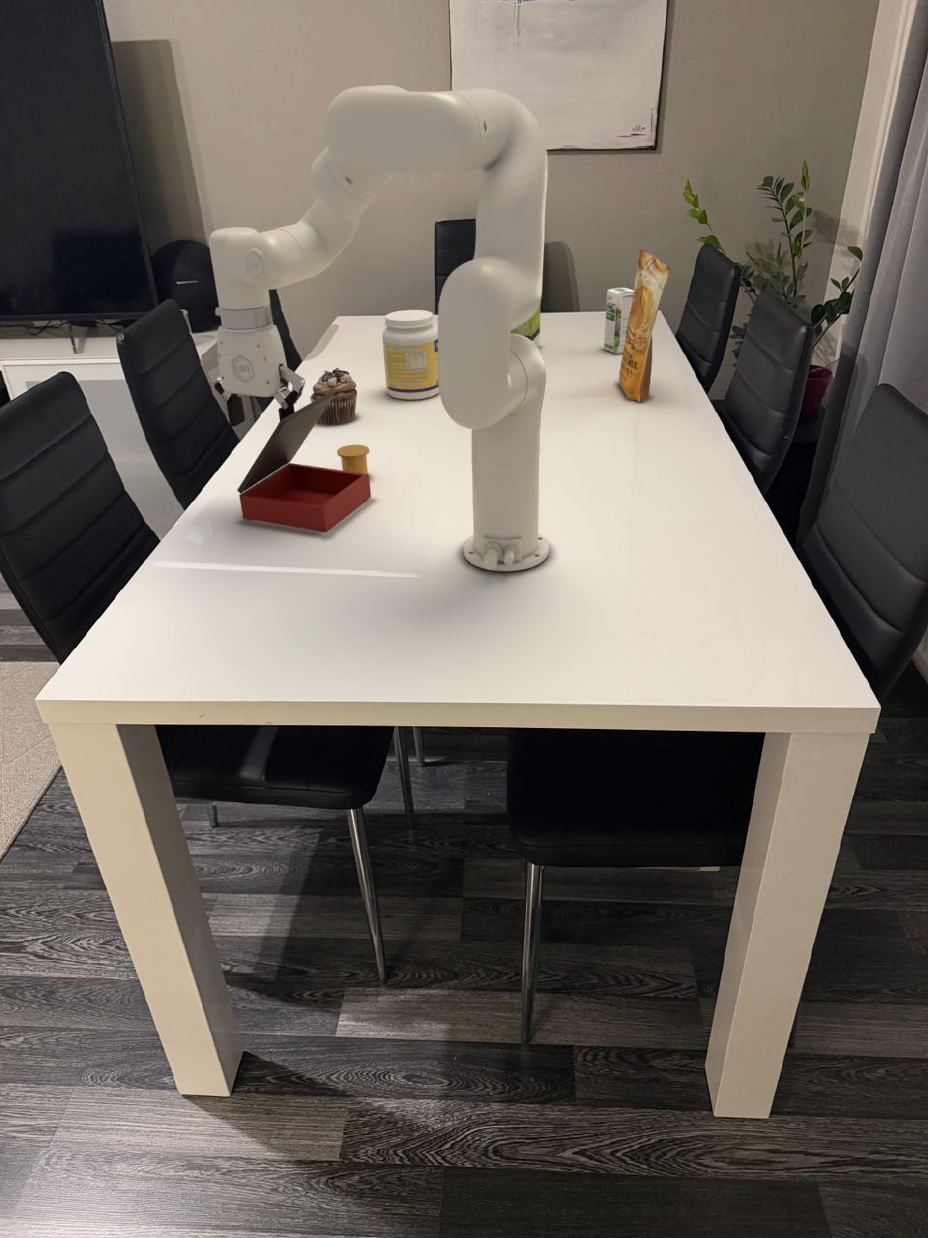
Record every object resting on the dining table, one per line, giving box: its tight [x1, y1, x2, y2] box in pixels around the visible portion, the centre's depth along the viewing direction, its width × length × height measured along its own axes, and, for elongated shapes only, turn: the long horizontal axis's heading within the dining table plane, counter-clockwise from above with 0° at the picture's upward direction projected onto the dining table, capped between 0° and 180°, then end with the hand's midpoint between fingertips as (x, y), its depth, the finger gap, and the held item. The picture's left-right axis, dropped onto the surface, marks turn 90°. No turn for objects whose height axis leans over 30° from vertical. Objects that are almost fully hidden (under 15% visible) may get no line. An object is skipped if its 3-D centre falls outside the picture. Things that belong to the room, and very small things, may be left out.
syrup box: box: [603, 287, 634, 355], centre depth 226 cm, size 6×6×14 cm
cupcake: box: [309, 367, 358, 426], centre depth 189 cm, size 10×10×10 cm
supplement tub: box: [381, 309, 440, 401], centre depth 201 cm, size 12×12×17 cm
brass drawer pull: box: [336, 444, 370, 474], centre depth 161 cm, size 6×6×5 cm
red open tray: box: [238, 462, 372, 533], centre depth 150 cm, size 16×15×5 cm
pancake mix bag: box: [618, 248, 672, 403], centre depth 194 cm, size 7×19×28 cm, turn 2°
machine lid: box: [236, 391, 335, 495], centre depth 146 cm, size 16×15×1 cm
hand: (263, 426), depth 147 cm, fingers open, 9 cm apart
